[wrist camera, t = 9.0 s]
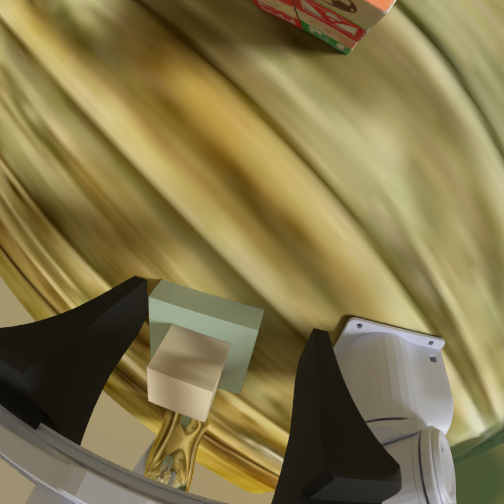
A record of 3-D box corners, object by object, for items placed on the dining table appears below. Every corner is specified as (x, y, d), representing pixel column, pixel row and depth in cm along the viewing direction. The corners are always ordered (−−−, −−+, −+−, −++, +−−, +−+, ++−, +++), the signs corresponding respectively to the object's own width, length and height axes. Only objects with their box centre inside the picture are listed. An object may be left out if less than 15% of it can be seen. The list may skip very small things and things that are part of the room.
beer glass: (157, 413, 39) (115, 501, 26) (171, 395, 35) (123, 498, 23) (201, 435, 40) (168, 525, 27) (221, 420, 36) (185, 524, 23)
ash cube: (231, 343, 25) (212, 392, 21) (221, 378, 28) (205, 422, 23) (172, 323, 25) (146, 367, 21) (170, 359, 28) (148, 400, 24)
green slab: (265, 306, 26) (258, 330, 24) (246, 371, 31) (239, 394, 28) (164, 276, 27) (148, 296, 24) (163, 345, 32) (151, 365, 29)
